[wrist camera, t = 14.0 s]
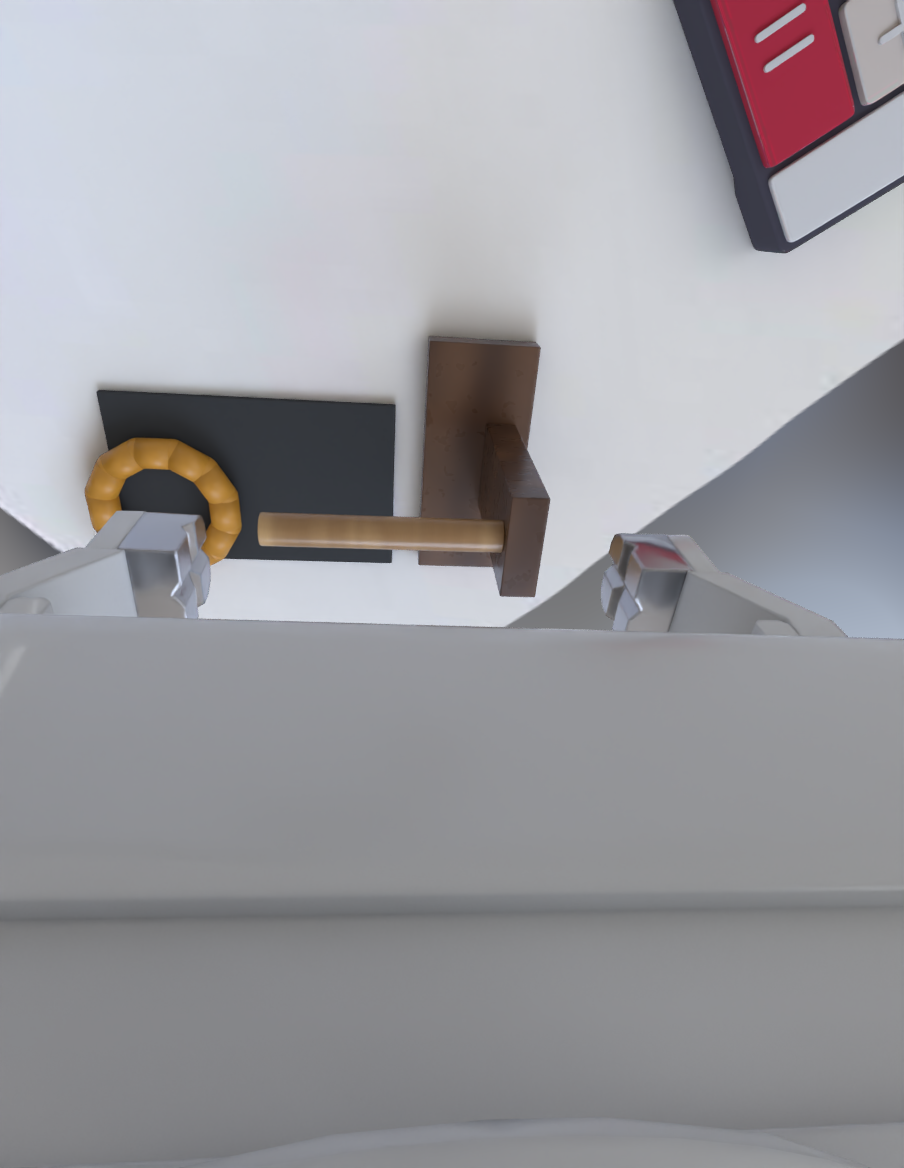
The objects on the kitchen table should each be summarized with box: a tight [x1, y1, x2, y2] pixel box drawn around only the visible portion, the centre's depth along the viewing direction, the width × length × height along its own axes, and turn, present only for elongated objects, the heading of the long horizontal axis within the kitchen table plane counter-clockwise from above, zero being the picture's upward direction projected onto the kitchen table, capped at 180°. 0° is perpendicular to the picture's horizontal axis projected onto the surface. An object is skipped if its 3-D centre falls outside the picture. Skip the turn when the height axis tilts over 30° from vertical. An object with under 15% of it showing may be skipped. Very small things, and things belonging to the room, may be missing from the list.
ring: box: [85, 438, 242, 566], centre depth 46 cm, size 10×2×10 cm
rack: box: [258, 336, 550, 597], centre depth 41 cm, size 16×16×14 cm
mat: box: [97, 390, 395, 563], centre depth 46 cm, size 19×12×1 cm, turn 86°
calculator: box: [673, 0, 904, 253], centre depth 35 cm, size 11×4×15 cm
